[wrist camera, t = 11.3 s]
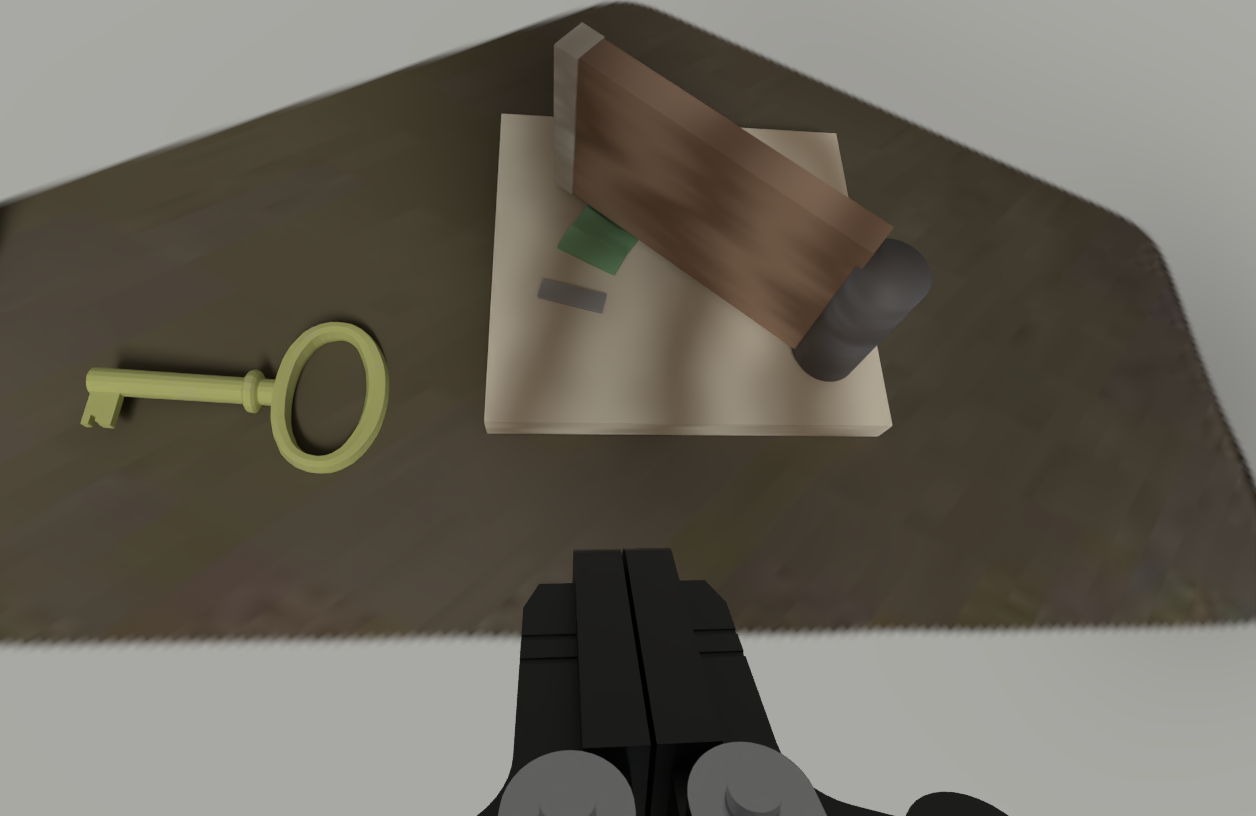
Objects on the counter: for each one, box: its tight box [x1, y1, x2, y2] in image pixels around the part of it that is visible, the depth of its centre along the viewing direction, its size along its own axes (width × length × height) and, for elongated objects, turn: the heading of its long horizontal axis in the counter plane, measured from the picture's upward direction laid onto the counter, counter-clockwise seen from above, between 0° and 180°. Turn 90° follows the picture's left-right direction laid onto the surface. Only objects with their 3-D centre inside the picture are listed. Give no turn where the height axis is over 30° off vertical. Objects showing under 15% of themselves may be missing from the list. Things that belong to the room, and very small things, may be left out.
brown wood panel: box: [554, 22, 932, 382], centre depth 29 cm, size 18×3×8 cm, turn 52°
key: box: [80, 322, 389, 474], centre depth 29 cm, size 7×12×2 cm, turn 109°
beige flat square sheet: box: [484, 114, 892, 436], centre depth 34 cm, size 19×18×2 cm
